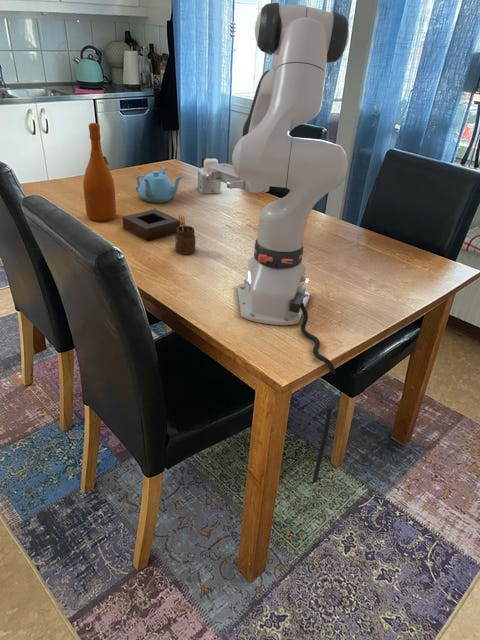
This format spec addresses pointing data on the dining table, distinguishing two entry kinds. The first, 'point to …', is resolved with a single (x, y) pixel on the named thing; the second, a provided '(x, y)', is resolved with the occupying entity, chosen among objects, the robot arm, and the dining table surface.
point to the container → (204, 184)
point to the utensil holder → (185, 238)
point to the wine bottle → (98, 182)
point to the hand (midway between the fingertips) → (217, 181)
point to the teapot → (156, 187)
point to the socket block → (151, 224)
